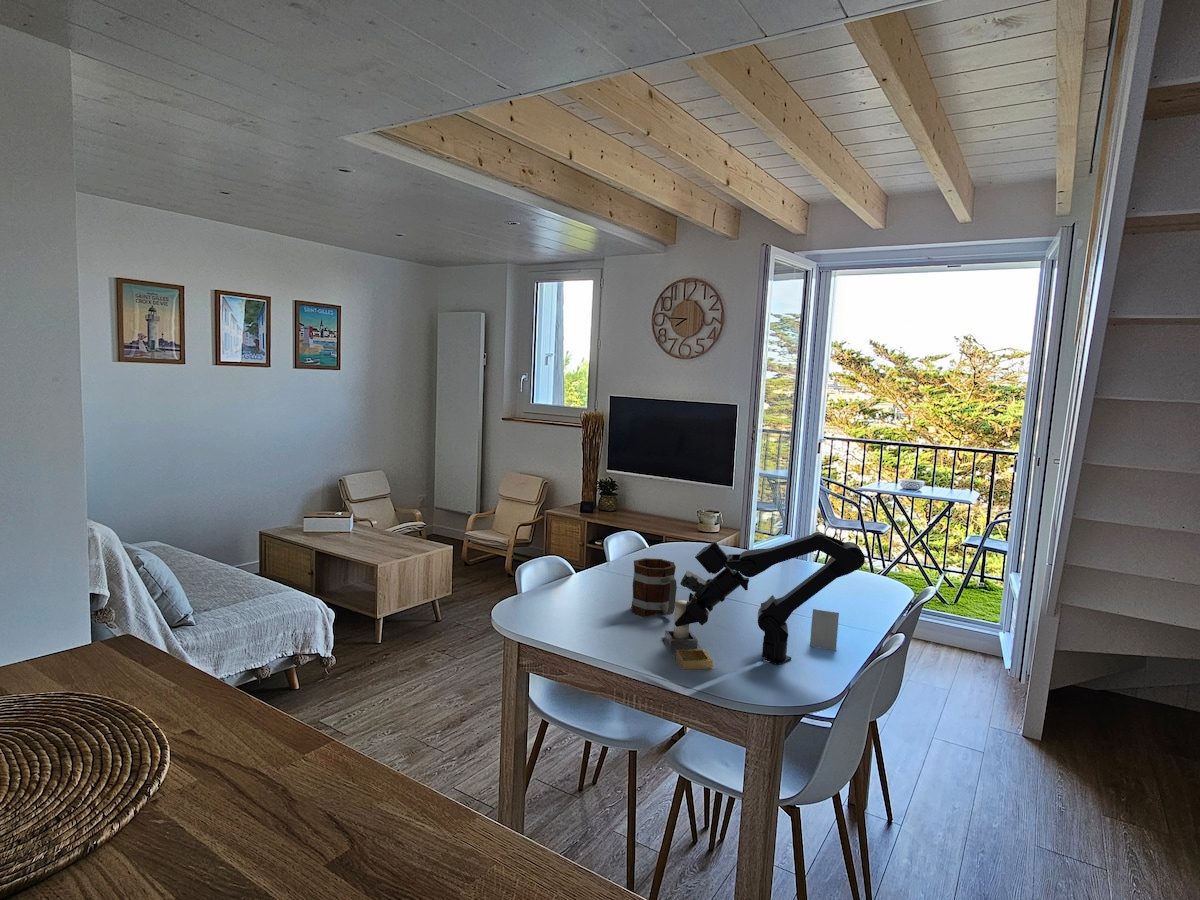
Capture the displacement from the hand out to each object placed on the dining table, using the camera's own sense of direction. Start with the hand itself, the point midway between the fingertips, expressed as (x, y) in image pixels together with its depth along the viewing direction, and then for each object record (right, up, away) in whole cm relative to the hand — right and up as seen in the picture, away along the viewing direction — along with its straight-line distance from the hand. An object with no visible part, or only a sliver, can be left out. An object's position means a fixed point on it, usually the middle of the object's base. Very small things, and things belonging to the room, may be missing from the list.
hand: (676, 622), depth 186 cm
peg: (+1, -5, 0) cm, 6 cm away
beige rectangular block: (+41, -8, +5) cm, 42 cm away
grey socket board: (+2, -7, -6) cm, 10 cm away
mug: (-3, -4, +26) cm, 26 cm away
